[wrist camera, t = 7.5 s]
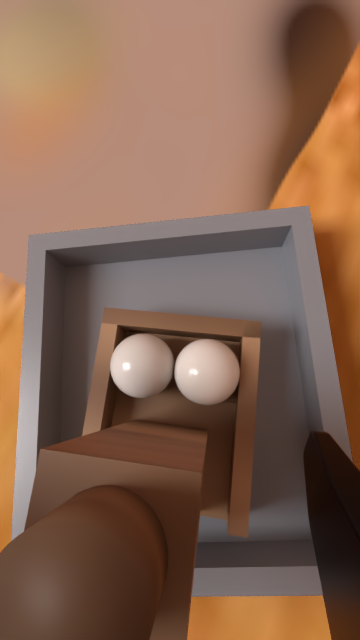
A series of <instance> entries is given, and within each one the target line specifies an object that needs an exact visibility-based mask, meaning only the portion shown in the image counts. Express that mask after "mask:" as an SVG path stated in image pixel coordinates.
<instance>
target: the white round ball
mask: <svg viewBox="0 0 360 640" xmlns="http://www.w3.org/2000/svg"><path fill="white" fill-rule="evenodd" d="M174 366H175V362H174V357H173V354H172V351H171V349H170V348H169V346H168V345H167V344H166V343H165V342H164V341H163V340H162V339H160V338H158V337H156V336H154V335H151V334H144V333H143V334H135V335H132V336H129V337H127V338H126V339H124V340H123V341H122V342H120V344H119V345H118V346H117V347H116V348H115V350H114V352H113V354H112V357H111V362H110V371H111V376H112V378H113V381H114V383H115V384H116V385H117V387H118V388H119V389H120V390H121V391H122V392H124V393H125V394H127V395H129V396H132V397H135V398H149V397H152V396H155V395H157V394H159V393H160V392H162V391H163V390H164V389H165V388H166V387H167V386H168V385H169V383H170V381H171V379H172V377H173V374H174Z"/></svg>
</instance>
